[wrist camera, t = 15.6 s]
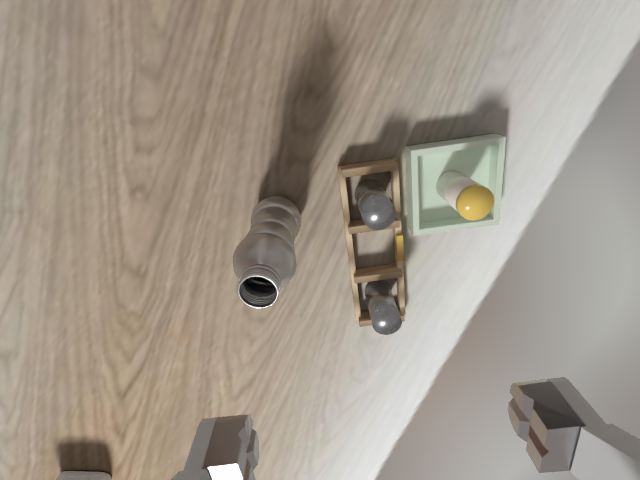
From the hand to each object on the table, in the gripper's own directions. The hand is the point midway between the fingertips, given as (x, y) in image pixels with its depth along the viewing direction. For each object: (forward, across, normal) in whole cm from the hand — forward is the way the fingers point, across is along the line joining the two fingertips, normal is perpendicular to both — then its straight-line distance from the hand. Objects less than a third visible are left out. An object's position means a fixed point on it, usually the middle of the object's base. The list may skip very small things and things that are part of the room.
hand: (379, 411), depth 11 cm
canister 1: (+39, -5, +6) cm, 40 cm away
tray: (+39, -16, +6) cm, 43 cm away
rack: (+39, -5, +14) cm, 42 cm away
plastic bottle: (+39, +8, +7) cm, 41 cm away
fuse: (+38, -16, +6) cm, 42 cm away
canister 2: (+39, -5, +22) cm, 45 cm away
